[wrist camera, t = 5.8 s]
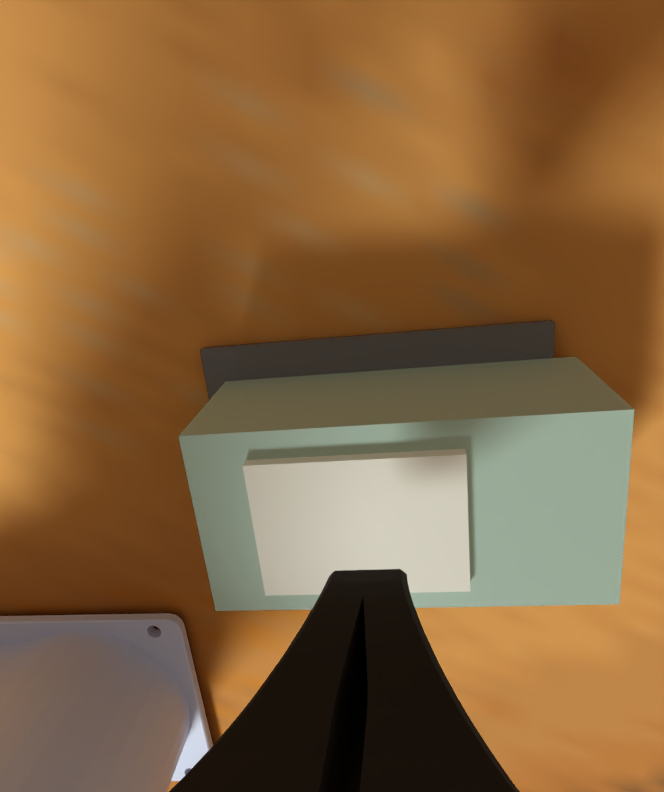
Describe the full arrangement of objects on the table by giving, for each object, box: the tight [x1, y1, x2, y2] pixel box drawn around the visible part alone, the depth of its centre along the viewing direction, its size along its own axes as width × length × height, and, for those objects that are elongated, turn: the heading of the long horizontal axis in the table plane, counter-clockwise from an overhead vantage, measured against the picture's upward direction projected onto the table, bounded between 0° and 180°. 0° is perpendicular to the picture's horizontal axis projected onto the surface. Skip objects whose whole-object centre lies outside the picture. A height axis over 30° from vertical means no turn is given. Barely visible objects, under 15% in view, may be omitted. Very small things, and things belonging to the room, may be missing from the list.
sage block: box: [178, 356, 634, 611], centre depth 15 cm, size 4×5×10 cm
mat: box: [200, 320, 555, 400], centre depth 17 cm, size 10×7×1 cm
